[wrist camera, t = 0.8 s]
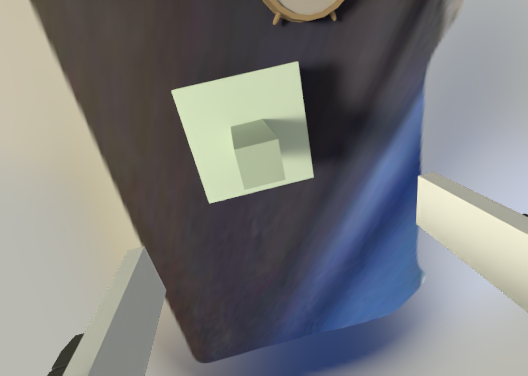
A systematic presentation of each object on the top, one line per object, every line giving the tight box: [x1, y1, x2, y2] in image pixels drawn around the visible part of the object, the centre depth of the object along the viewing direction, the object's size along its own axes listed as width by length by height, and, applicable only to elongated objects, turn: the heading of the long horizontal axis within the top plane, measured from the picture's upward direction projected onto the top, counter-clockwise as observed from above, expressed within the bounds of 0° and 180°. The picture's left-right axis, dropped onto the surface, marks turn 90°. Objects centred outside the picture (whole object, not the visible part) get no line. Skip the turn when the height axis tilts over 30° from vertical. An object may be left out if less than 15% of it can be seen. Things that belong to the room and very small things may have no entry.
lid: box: [171, 62, 314, 203], centre depth 26 cm, size 13×13×10 cm
